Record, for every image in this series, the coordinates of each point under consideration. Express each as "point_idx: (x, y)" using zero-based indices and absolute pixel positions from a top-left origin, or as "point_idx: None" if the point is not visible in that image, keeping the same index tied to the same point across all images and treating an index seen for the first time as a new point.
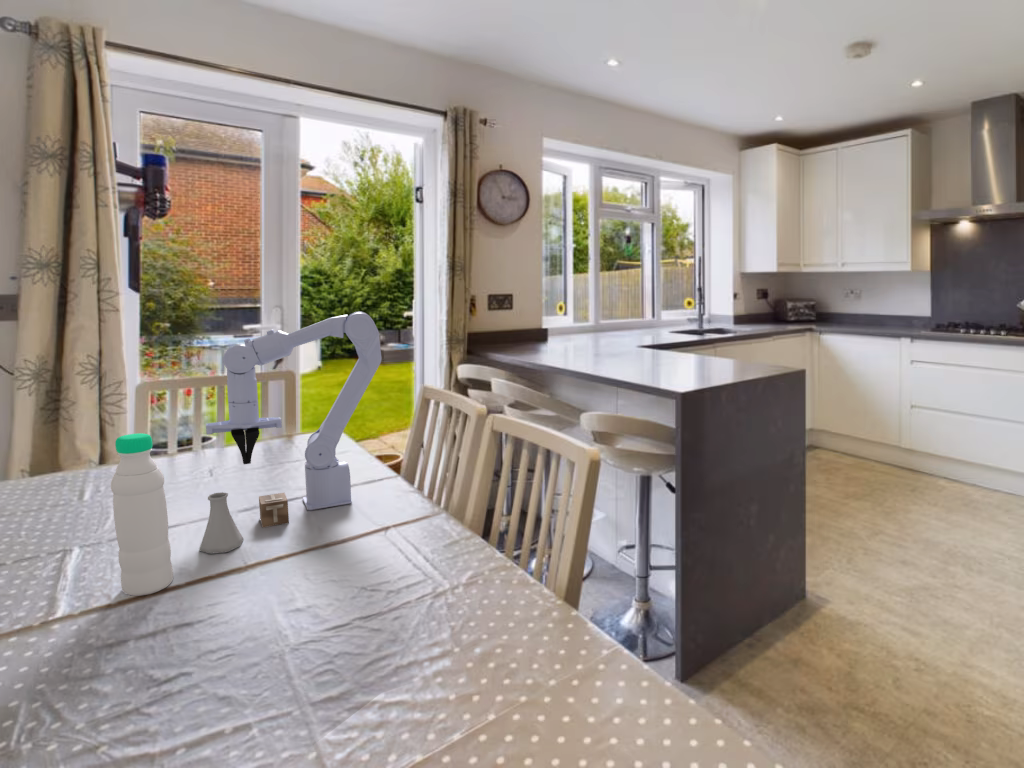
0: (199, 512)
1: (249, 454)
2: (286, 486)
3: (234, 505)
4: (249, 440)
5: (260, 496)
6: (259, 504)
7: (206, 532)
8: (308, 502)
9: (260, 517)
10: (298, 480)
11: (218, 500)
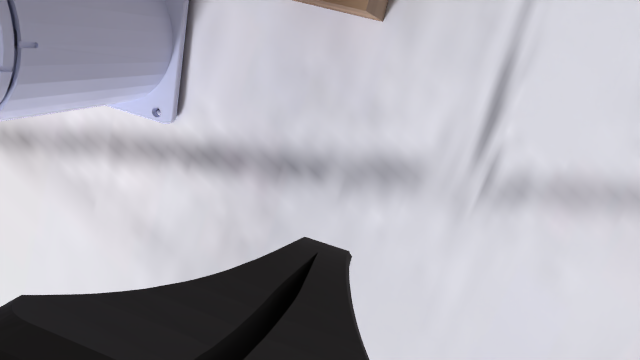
0: (551, 284)
1: (281, 260)
2: None
3: (406, 255)
4: (194, 326)
5: (358, 1)
6: (375, 1)
7: None
8: (167, 23)
9: (386, 2)
10: None
11: None
